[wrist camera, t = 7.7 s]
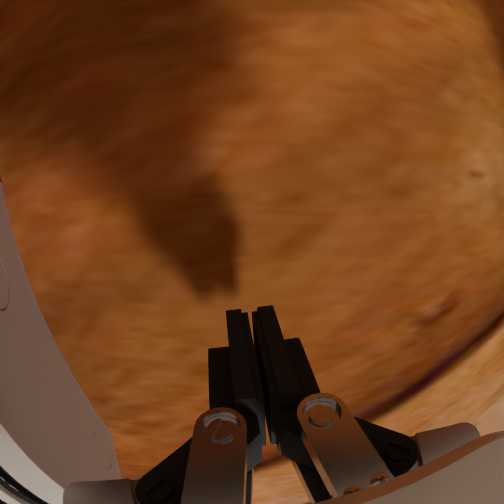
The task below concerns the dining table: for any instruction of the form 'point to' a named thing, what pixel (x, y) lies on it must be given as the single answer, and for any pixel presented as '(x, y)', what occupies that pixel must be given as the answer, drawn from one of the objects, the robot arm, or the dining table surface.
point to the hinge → (41, 398)
